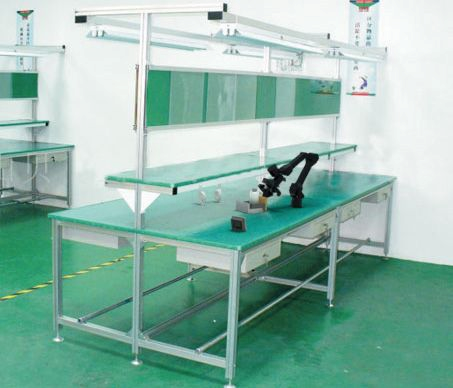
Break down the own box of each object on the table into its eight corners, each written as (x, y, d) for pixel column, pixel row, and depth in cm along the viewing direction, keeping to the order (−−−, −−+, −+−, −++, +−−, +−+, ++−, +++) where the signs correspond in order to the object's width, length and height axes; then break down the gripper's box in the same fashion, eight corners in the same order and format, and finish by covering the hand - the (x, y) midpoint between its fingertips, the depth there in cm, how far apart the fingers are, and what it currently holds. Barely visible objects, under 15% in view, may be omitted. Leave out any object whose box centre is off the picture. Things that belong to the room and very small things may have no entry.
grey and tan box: (255, 207, 428) (255, 194, 426) (266, 210, 418) (267, 197, 417) (241, 208, 421) (242, 195, 420) (252, 212, 412) (253, 199, 410)
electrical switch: (246, 230, 362) (246, 216, 360) (242, 233, 358) (242, 218, 356) (233, 228, 366) (233, 214, 364) (229, 230, 363) (229, 216, 360)
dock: (252, 208, 427) (252, 198, 426) (264, 212, 417) (265, 202, 415) (235, 209, 419) (236, 200, 418) (247, 213, 409) (248, 203, 408)
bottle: (258, 207, 422) (259, 187, 420) (258, 209, 416) (259, 189, 414) (248, 207, 422) (250, 187, 420) (248, 209, 416) (249, 188, 414)
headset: (216, 201, 446) (217, 175, 443) (223, 202, 442) (224, 176, 439) (195, 204, 432) (196, 177, 429) (202, 206, 427) (203, 179, 424)
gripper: (260, 171, 430) (246, 188, 425) (279, 175, 415) (264, 193, 410) (269, 182, 435) (255, 200, 431) (287, 187, 420) (273, 205, 416)
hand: (261, 199), depth 422 cm, fingers closed, pressing on grey and tan box
